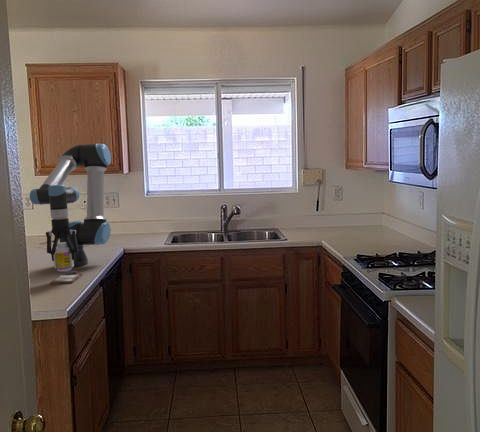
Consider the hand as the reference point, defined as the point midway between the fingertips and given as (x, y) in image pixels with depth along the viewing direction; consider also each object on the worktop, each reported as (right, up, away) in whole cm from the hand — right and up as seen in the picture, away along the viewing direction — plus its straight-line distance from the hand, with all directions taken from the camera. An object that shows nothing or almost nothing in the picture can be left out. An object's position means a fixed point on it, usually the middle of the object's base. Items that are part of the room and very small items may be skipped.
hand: (64, 267), depth 241 cm
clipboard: (0, -6, +2) cm, 7 cm away
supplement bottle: (0, -2, 0) cm, 2 cm away
